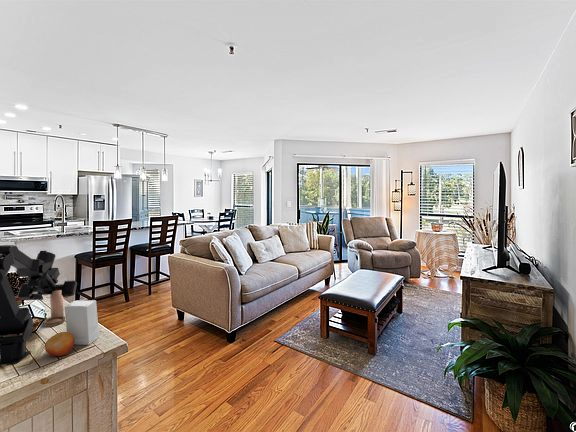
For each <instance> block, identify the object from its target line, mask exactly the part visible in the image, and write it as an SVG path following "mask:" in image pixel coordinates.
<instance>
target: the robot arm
mask: <svg viewBox="0 0 576 432" xmlns="http://www.w3.org/2000/svg"><path fill="white" fill-rule="evenodd" d="M55 260H56V254H55V253H54V252H49V251H47V250H40V251H39V253H37V256H36V258H31V257H30V256H28V255H27V254H26V253H24V252H23V251H21V250H20V249H19V247H18V246H17V245H14V244H5V245H2V244H1V245H0V365H5V364H6V365H10V364H11V365H12V364H17V363H19V362H20V361H22V360H23V359H25V358H26V357H27V356H29V355H30V354H32V353H31V352H32V351H30V350H29V351H27V344H26V343H27V341H28V340H29V339H30V338H31V337H32V336H33V330H34V329H33V326H34V319H33V318H32V316H33V315H32V314H31V312H30V309H29V308H28V306H27V307H20V306H19V303H18V301H17V298H16V295H15V293H14V291H13V288H12V286H11V284H10V281H9V278H8V276H7V275H8V273H9V272H10V270H11V267H13V268H15V274H17V275H18V277H20V278H27V280H28V281H27V282H24V283H22V284H21V285H20V286H19V287H20V288H19V290H18V292H17V297H18V298H19V299H20V300H27V301H28V300H30V301H31V300H33V301H43V300H44V296H46V295H49V296H50V294H53V292H54V291H58V290H62V291H61V292H62V296H63V299H69V297H72V296H74V295H75V293H76V290H77V286H78V282H77V281H76V280H74V279H73V280H65V281H64V282H63V284H60V283H59V284H58V282H59V279H58V278H59V276H60V269H59V268H58V267H53V265H54V263H55Z"/></svg>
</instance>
